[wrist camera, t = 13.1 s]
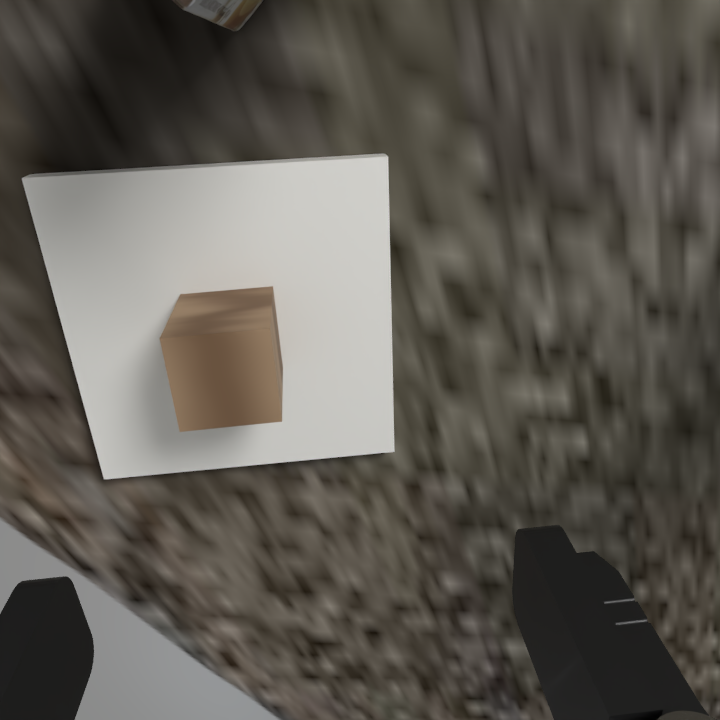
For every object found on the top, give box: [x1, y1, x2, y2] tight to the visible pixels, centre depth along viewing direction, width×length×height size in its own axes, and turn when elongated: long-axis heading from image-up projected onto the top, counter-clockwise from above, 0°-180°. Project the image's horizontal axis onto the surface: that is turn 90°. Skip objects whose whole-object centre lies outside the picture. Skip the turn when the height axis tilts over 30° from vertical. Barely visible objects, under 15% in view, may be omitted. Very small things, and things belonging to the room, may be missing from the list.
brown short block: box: [160, 286, 283, 432], centre depth 32 cm, size 5×5×6 cm
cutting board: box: [22, 153, 394, 479], centre depth 35 cm, size 18×18×1 cm
